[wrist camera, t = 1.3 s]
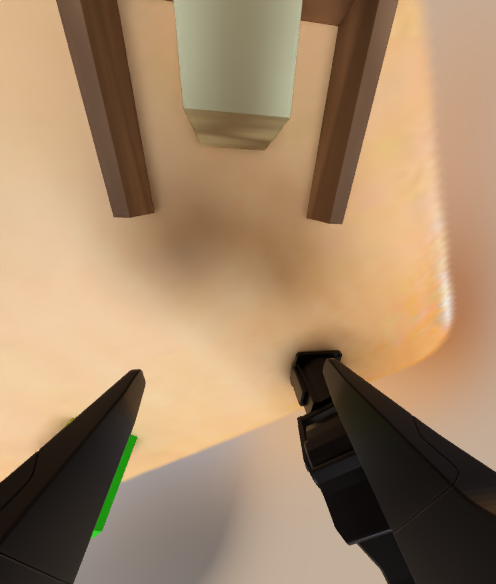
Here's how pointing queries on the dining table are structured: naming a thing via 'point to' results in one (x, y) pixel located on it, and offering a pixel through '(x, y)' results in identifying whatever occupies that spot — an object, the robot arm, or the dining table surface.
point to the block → (237, 68)
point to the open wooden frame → (123, 119)
